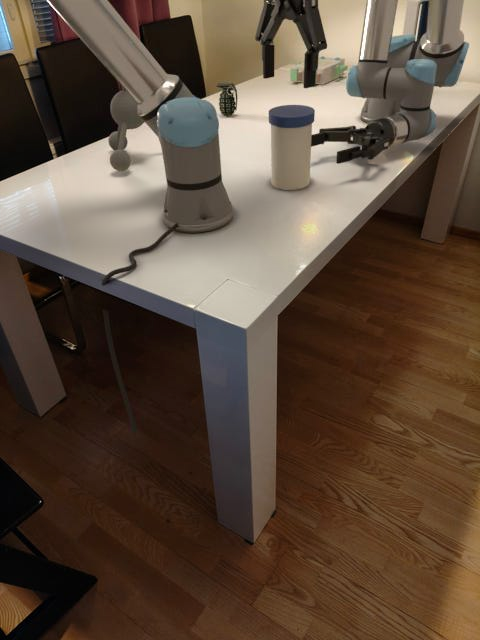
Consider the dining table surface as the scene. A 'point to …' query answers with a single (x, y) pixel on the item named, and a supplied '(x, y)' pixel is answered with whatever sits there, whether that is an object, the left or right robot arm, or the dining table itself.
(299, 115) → the lid
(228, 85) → the grenade
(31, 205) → the dining table surface
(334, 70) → the decorative block
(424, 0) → the electronic device
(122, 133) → the molecular model
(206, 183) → the left robot arm
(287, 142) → the jar
